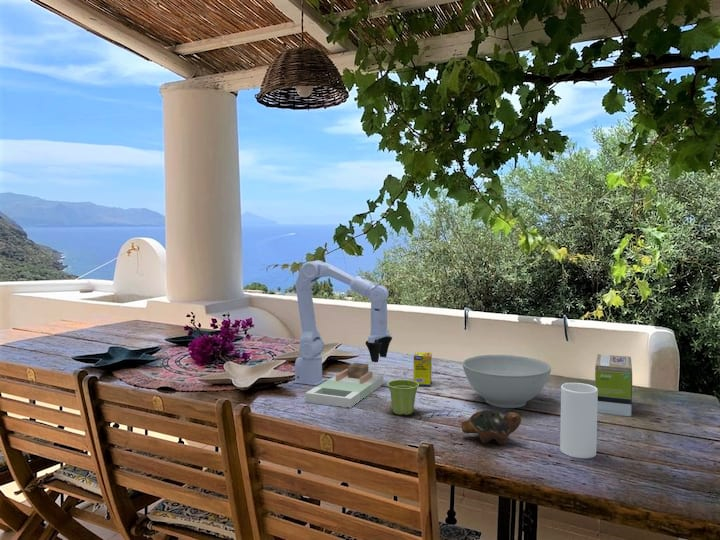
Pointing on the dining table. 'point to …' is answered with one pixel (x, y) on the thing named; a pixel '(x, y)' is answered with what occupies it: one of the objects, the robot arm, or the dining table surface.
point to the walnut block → (357, 370)
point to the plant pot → (403, 395)
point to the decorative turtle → (492, 425)
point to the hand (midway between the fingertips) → (379, 359)
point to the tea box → (614, 384)
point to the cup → (578, 420)
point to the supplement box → (422, 368)
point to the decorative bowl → (506, 378)
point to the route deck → (344, 389)
